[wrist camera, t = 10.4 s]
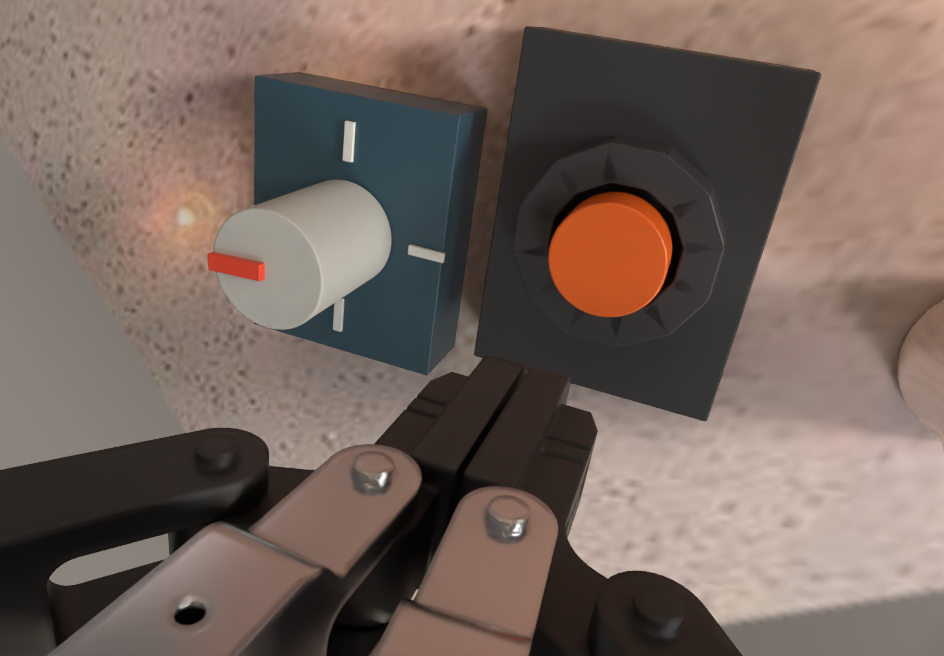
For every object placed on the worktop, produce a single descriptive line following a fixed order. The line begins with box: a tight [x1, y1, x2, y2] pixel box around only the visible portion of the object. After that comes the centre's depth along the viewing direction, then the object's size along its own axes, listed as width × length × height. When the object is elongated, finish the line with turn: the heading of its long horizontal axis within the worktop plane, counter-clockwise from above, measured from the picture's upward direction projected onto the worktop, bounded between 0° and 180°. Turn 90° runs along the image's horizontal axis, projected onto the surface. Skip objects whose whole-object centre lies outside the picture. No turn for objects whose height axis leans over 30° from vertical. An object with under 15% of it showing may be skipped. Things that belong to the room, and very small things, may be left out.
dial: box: [208, 180, 391, 330], centre depth 24 cm, size 4×4×5 cm
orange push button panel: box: [474, 26, 821, 421], centre depth 24 cm, size 12×9×4 cm
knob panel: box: [249, 72, 487, 375], centre depth 28 cm, size 10×8×3 cm
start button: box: [548, 192, 672, 317], centre depth 22 cm, size 4×4×2 cm
